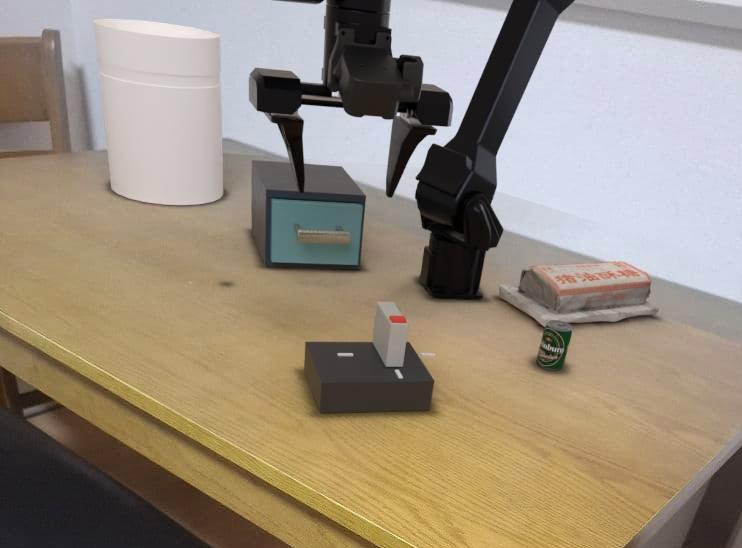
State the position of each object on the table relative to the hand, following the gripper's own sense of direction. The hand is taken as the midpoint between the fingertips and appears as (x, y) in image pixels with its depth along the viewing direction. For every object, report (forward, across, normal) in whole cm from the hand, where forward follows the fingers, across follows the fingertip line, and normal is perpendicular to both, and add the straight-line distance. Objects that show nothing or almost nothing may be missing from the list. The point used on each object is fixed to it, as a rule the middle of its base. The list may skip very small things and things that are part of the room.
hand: (345, 194), depth 77 cm
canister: (+12, -15, +45) cm, 49 cm away
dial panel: (+12, -1, -19) cm, 22 cm away
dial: (+9, 0, -18) cm, 20 cm away
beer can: (+12, +19, -15) cm, 27 cm away
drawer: (+11, 0, +16) cm, 19 cm away
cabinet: (+12, 0, +20) cm, 23 cm away
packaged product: (+12, +30, 0) cm, 33 cm away
